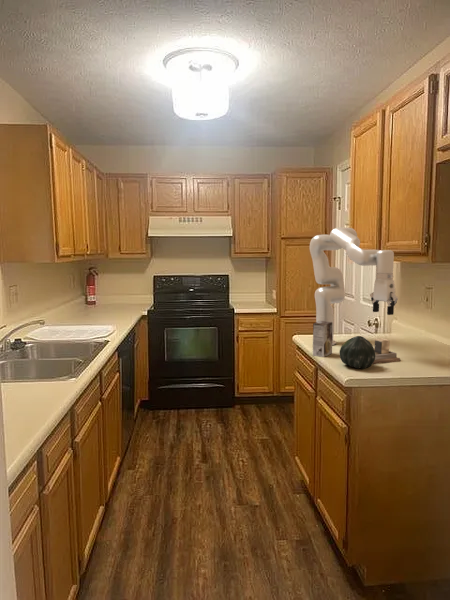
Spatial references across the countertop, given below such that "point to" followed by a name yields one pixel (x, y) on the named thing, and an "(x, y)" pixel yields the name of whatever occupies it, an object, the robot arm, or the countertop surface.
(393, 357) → the rail board
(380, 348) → the wooden block
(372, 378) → the countertop surface
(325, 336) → the coffee box
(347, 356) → the squash
